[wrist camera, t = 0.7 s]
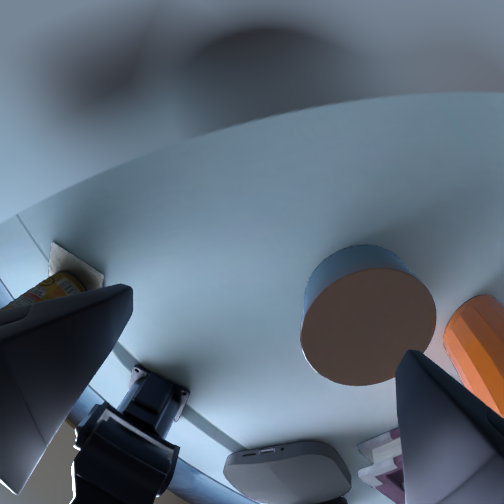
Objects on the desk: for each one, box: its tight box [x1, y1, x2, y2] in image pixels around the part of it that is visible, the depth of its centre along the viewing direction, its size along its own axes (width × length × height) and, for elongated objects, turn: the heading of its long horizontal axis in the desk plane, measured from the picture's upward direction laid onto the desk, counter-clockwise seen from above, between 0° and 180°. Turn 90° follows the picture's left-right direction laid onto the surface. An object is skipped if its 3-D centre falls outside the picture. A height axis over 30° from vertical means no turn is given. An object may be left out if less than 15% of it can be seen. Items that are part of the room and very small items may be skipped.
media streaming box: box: [223, 442, 352, 504], centre depth 31 cm, size 15×15×3 cm
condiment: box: [0, 242, 104, 310], centre depth 22 cm, size 7×8×12 cm
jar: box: [300, 245, 436, 386], centre depth 21 cm, size 9×9×5 cm
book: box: [357, 428, 405, 504], centre depth 24 cm, size 25×16×5 cm, turn 129°
